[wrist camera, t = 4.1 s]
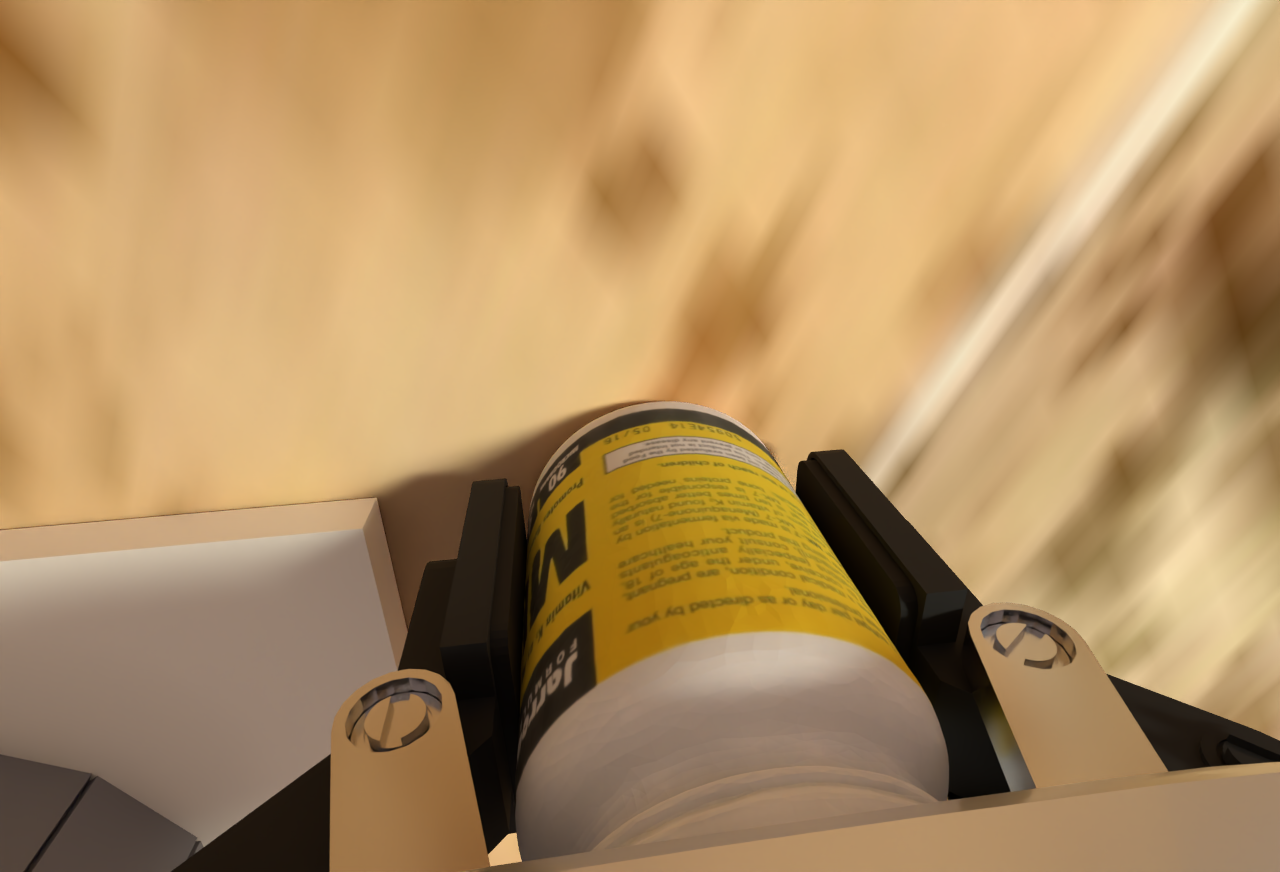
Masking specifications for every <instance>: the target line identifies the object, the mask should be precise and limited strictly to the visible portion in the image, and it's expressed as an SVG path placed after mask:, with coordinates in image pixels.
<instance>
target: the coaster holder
mask: <svg viewBox="0 0 1280 872" xmlns="http://www.w3.org/2000/svg"><path fill="white" fill-rule="evenodd" d="M407 633H408V632H407V627H406V623H405V619H404V614H403V610H402V606H401V601H400V597H399V592H398V588H397V584H396V579H395V575H394V571H393V566H392V562H391V558H390V553H389V549H388V545H387V540H386V536H385V532H384V527H383V523H382V519H381V514H380V510H379V505H378V501H377V498H365V499H354V500H342V501H331V502H319V503H307V504H296V505H284V506H273V507H261V508H250V509H238V510H227V511H215V512H204V513H192V514H181V515H169V516H158V517H146V518H135V519H123V520H112V521H100V522H89V523H77V524H66V525H54V526H42V527H31V528H19V529H8V530H0V872H171V871H172V870H173V869H175V868H176V867H178V866H179V865H180V864H182V863H183V862H184V861H186V860H187V859H188V858H190V857H191V856H192V855H194V854H195V853H197V852H198V851H199V850H201V849H202V848H203V847H205V846H206V845H207V844H209V843H210V842H211V841H213V840H214V839H216V838H217V837H218V836H220V835H221V834H222V833H224V832H225V831H226V830H228V829H229V828H230V827H232V826H233V825H234V824H236V823H237V822H239V821H240V820H241V819H243V818H244V817H245V816H247V815H248V814H249V813H251V812H252V811H253V810H255V809H256V808H258V807H259V806H260V805H262V804H263V803H264V802H266V801H267V800H268V799H270V798H271V797H272V796H274V795H275V794H277V793H278V792H279V791H281V790H282V789H283V788H285V787H286V786H287V785H289V784H290V783H291V782H293V781H294V780H296V779H297V778H298V777H300V776H301V775H302V774H304V773H305V772H306V771H308V770H309V769H310V768H312V767H313V766H315V765H316V764H317V763H319V762H320V761H321V760H323V759H324V758H325V757H327V756H328V755H329V754H331V730H332V726H333V721H334V717H335V715H336V714H337V712H338V711H339V709H340V707H341V706H342V704H343V703H344V702H345V701H346V700H347V699H348V698H349V697H350V696H351V695H352V694H353V693H354V692H355V691H356V690H357V689H359V688H360V687H362V686H363V685H365V684H366V683H368V682H369V681H371V680H373V679H375V678H377V677H380V676H382V675H385V674H388V673H390V672H395V671H398V667H399V663H400V659H401V656H402V652H403V648H404V645H405V641H406V637H407Z"/></svg>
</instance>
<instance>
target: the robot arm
mask: <svg viewBox="0 0 1280 872" xmlns="http://www.w3.org/2000/svg"><path fill="white" fill-rule="evenodd" d="M796 494H797V496H798V497H799V499H800V500H801V502H802V503H803V505H804V507H805V508H806V510H807V511H808V513H809V514H810V516H811V518H812V519H813V521H814V522H815V524H816V525H817V527H818V529H819V530H820V532H821V533H822V535H823V537H824V538H825V540H826V541H827V543H828V544H829V546H830V548H831V549H832V551H833V552H834V554H835V555H836V557H837V559H838V560H839V562H840V563H841V565H842V566H843V568H844V570H845V571H846V573H847V574H848V576H849V577H850V579H851V580H852V582H853V584H854V585H855V587H856V588H857V590H858V591H859V593H860V594H861V596H862V597H863V599H864V600H865V602H866V603H867V605H868V606H869V608H870V609H871V611H872V612H873V614H874V615H875V617H876V618H877V620H878V621H879V623H880V625H881V626H882V628H883V629H884V631H885V633H886V634H887V636H888V637H889V639H890V640H891V642H892V643H893V645H894V646H895V648H896V649H897V651H898V652H899V654H900V656H901V657H902V659H903V660H904V662H905V663H906V665H907V666H908V668H909V669H910V671H911V672H912V673H913V675H914V676H915V678H916V679H917V680H918V682H919V683H920V685H921V687H922V689H923V690H924V692H925V694H926V695H927V697H928V699H929V700H930V702H931V704H932V706H933V709H934V711H935V714H936V716H937V719H938V721H939V724H940V727H941V730H942V733H943V736H944V739H945V742H946V747H947V752H948V761H949V786H948V795H947V801H940V802H933V803H925V804H918V805H911V806H904V807H897V808H890V809H883V810H876V811H869V812H862V813H854V814H847V815H840V816H833V817H826V818H819V819H812V820H805V821H798V822H791V823H784V824H777V825H770V826H763V827H756V828H749V829H742V830H735V831H728V832H721V833H714V834H707V835H700V836H693V837H686V838H680V839H673V840H666V841H659V842H653V843H646V844H639V845H632V846H626V847H619V848H612V849H605V850H599V851H592V852H585V853H578V854H572V855H565V856H558V857H551V858H545V859H538V860H531V861H524V862H518V863H511V864H504V865H497V866H491V867H490V863H489V858H488V854H489V853H490V852H491V851H492V850H493V849H494V848H495V847H496V846H497V845H498V844H499V843H500V842H501V841H502V840H503V839H504V838H505V837H506V835H507V834H510V833H517V832H516V822H515V796H516V793H515V775H516V766H517V752H518V729H519V727H518V722H519V716H520V690H521V658H522V642H523V618H524V600H525V579H526V546H527V539H526V531H525V523H524V515H523V507H522V499H521V492H520V487H519V486H512V487H508V483H507V480H506V479H497V480H485V481H474V482H473V484H472V488H471V493H470V498H469V503H468V508H467V513H466V518H465V523H464V528H463V533H462V538H461V543H460V548H459V553H458V558H457V559H452V560H442V561H432V562H429V563H427V565H426V567H425V570H424V574H423V577H422V581H421V585H420V589H419V592H418V596H417V600H416V604H415V607H414V611H413V615H412V618H411V622H410V626H409V630H408V633H407V637H406V641H405V645H404V648H403V652H402V656H401V659H400V663H399V667H398V671H395V672H390V673H388V674H385V675H382V676H380V677H377V678H375V679H373V680H371V681H369V682H368V683H366V684H365V685H363V686H362V687H360V688H359V689H357V690H356V691H355V692H354V693H353V694H352V695H351V696H350V697H349V698H348V699H347V700H346V701H345V702H344V703H343V704H342V706H341V707H340V709H339V711H338V712H337V714H336V715H335V717H334V721H333V726H332V730H331V754H329V755H328V756H327V757H325V758H324V759H323V760H321V761H320V762H319V763H317V764H316V765H315V766H313V767H312V768H310V769H309V770H308V771H306V772H305V773H304V774H302V775H301V776H300V777H298V778H297V779H296V780H294V781H293V782H291V783H290V784H289V785H287V786H286V787H285V788H283V789H282V790H281V791H279V792H278V793H277V794H275V795H274V796H272V797H271V798H270V799H268V800H267V801H266V802H264V803H263V804H262V805H260V806H259V807H258V808H256V809H255V810H253V811H252V812H251V813H249V814H248V815H247V816H245V817H244V818H243V819H241V820H240V821H239V822H237V823H236V824H234V825H233V826H232V827H230V828H229V829H228V830H226V831H225V832H224V833H222V834H221V835H220V836H218V837H217V838H216V839H214V840H213V841H211V842H210V843H209V844H207V845H206V846H205V847H203V848H202V849H201V850H199V851H198V852H197V853H195V854H194V855H192V856H191V857H190V858H188V859H187V860H186V861H184V862H183V863H182V864H180V865H179V866H178V867H176V868H175V869H173V870H172V871H171V872H1280V741H1279V740H1277V739H1275V738H1272V737H1270V736H1268V735H1266V734H1264V733H1261V732H1259V731H1257V730H1254V729H1252V728H1249V727H1246V726H1244V725H1241V724H1238V723H1236V722H1233V721H1231V720H1228V719H1225V718H1223V717H1220V716H1217V715H1215V714H1212V713H1209V712H1207V711H1204V710H1201V709H1199V708H1196V707H1193V706H1191V705H1188V704H1185V703H1183V702H1180V701H1177V700H1175V699H1172V698H1169V697H1167V696H1164V695H1161V694H1159V693H1156V692H1153V691H1151V690H1148V689H1145V688H1143V687H1140V686H1137V685H1135V684H1132V683H1129V682H1127V681H1124V680H1121V679H1119V678H1116V677H1113V676H1111V675H1108V674H1106V673H1105V671H1104V670H1103V668H1102V667H1101V665H1100V664H1099V662H1098V660H1097V659H1096V657H1095V656H1094V654H1093V653H1092V651H1091V650H1090V648H1089V646H1088V645H1087V643H1086V642H1085V641H1084V639H1083V638H1082V637H1081V636H1080V635H1079V634H1078V632H1077V631H1076V630H1075V629H1073V628H1072V627H1071V626H1069V625H1068V624H1067V623H1065V622H1064V621H1062V620H1061V619H1059V618H1057V617H1055V616H1053V615H1051V614H1049V613H1047V612H1045V611H1043V610H1040V609H1036V608H1033V607H1030V606H1027V605H1022V604H1015V603H991V604H988V605H985V606H983V605H982V604H981V603H980V602H979V600H978V599H977V598H976V597H975V596H974V595H973V594H972V593H971V591H970V590H969V589H968V588H967V587H966V586H965V585H964V584H963V582H962V581H961V580H960V579H959V578H958V577H957V576H956V575H955V573H954V572H953V571H952V570H951V569H950V568H949V567H948V565H947V564H946V563H945V562H944V561H943V560H942V559H941V558H940V556H939V555H938V554H937V553H936V552H935V551H934V550H933V549H932V547H931V546H930V545H929V544H928V543H927V542H926V541H925V540H924V538H923V537H922V536H921V535H920V534H919V533H918V532H917V531H916V529H915V528H914V527H913V526H912V525H911V524H910V523H909V522H908V521H907V520H906V519H905V518H904V517H903V516H902V515H901V514H900V512H899V511H898V510H897V509H896V508H895V507H894V506H893V505H892V503H891V502H890V501H889V500H888V499H887V498H886V497H885V495H884V494H883V493H882V492H881V491H880V490H879V489H878V488H877V486H876V485H875V484H874V483H873V482H872V481H871V480H870V479H869V477H868V476H867V475H866V474H865V473H864V472H863V471H862V469H861V468H860V467H859V466H858V465H857V464H856V463H855V462H854V460H853V459H852V458H851V457H850V456H849V455H848V454H847V453H846V452H845V451H844V450H830V451H818V452H811V453H810V454H809V456H808V458H807V461H800V462H799V465H798V470H797V482H796Z"/></svg>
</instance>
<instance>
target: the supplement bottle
mask: <svg viewBox="0 0 1280 872" xmlns="http://www.w3.org/2000/svg"><path fill="white" fill-rule="evenodd" d="M518 727H519V729H518V752H517V766H516V775H515V793H516V796H515V822H516V832H517V839H518V846H519V851H520V855H521V859H522V862H524V861H531V860H538V859H545V858H551V857H558V856H565V855H572V854H578V853H585V852H592V851H599V850H605V849H612V848H619V847H626V846H632V845H639V844H646V843H653V842H659V841H666V840H673V839H680V838H686V837H693V836H700V835H707V834H714V833H721V832H728V831H735V830H742V829H749V828H756V827H763V826H770V825H777V824H784V823H791V822H798V821H805V820H812V819H819V818H826V817H833V816H840V815H847V814H854V813H862V812H869V811H876V810H883V809H890V808H897V807H904V806H911V805H918V804H925V803H933V802H940V801H947V795H948V786H949V761H948V752H947V747H946V742H945V739H944V736H943V733H942V730H941V727H940V724H939V721H938V719H937V716H936V714H935V711H934V709H933V706H932V704H931V702H930V700H929V699H928V697H927V695H926V694H925V692H924V690H923V689H922V687H921V685H920V683H919V682H918V680H917V679H916V678H915V676H914V675H913V673H912V672H911V671H910V669H909V668H908V666H907V665H906V663H905V662H904V660H903V659H902V657H901V656H900V654H899V652H898V651H897V649H896V648H895V646H894V645H893V643H892V642H891V640H890V639H889V637H888V636H887V634H886V633H885V631H884V629H883V628H882V626H881V625H880V623H879V621H878V620H877V618H876V617H875V615H874V614H873V612H872V611H871V609H870V608H869V606H868V605H867V603H866V602H865V600H864V599H863V597H862V596H861V594H860V593H859V591H858V590H857V588H856V587H855V585H854V584H853V582H852V580H851V579H850V577H849V576H848V574H847V573H846V571H845V570H844V568H843V566H842V565H841V563H840V562H839V560H838V559H837V557H836V555H835V554H834V552H833V551H832V549H831V548H830V546H829V544H828V543H827V541H826V540H825V538H824V537H823V535H822V533H821V532H820V530H819V529H818V527H817V525H816V524H815V522H814V521H813V519H812V518H811V516H810V514H809V513H808V511H807V510H806V508H805V507H804V505H803V503H802V502H801V500H800V499H799V497H798V496H797V494H796V492H795V491H794V489H793V488H792V486H791V484H790V482H789V481H788V479H787V478H786V476H785V475H784V473H783V472H782V470H781V468H780V466H779V465H778V463H777V462H776V460H775V459H774V458H773V456H772V455H771V454H770V452H769V451H768V449H767V448H766V447H765V445H764V444H763V443H762V442H761V440H760V439H759V438H758V437H757V436H756V435H755V434H754V433H753V432H751V431H750V430H749V429H748V428H747V427H745V426H744V425H743V424H741V423H740V422H738V421H737V420H735V419H733V418H732V417H730V416H728V415H726V414H724V413H722V412H719V411H717V410H715V409H712V408H709V407H705V406H701V405H697V404H692V403H686V402H676V401H660V402H649V403H643V404H637V405H632V406H628V407H624V408H621V409H618V410H615V411H613V412H611V413H608V414H606V415H603V416H601V417H599V418H597V419H595V420H593V421H591V422H590V423H588V424H587V425H585V426H584V427H582V428H581V429H579V430H578V431H577V432H576V433H574V434H573V435H572V436H571V437H569V438H568V439H567V440H566V441H565V442H564V443H563V444H562V445H561V446H560V447H559V449H558V450H557V451H556V452H555V453H554V455H553V456H552V457H551V459H550V460H549V461H548V463H547V464H546V466H545V468H544V469H543V471H542V473H541V475H540V477H539V479H538V482H537V484H536V487H535V489H534V492H533V496H532V500H531V504H530V510H529V518H528V535H527V546H526V579H525V600H524V618H523V642H522V658H521V690H520V716H519V722H518Z"/></svg>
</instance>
